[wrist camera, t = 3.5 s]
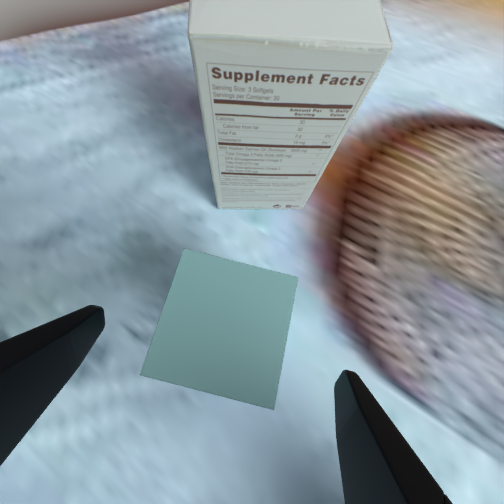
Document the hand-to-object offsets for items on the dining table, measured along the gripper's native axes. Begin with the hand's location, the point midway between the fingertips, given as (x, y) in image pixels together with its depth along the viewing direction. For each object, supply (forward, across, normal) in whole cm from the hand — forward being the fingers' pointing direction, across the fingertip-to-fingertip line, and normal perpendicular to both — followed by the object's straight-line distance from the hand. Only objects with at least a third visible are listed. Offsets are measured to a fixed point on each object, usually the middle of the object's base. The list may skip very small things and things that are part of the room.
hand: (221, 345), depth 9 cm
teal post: (+6, 0, +6) cm, 9 cm away
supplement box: (+16, +1, -3) cm, 16 cm away
